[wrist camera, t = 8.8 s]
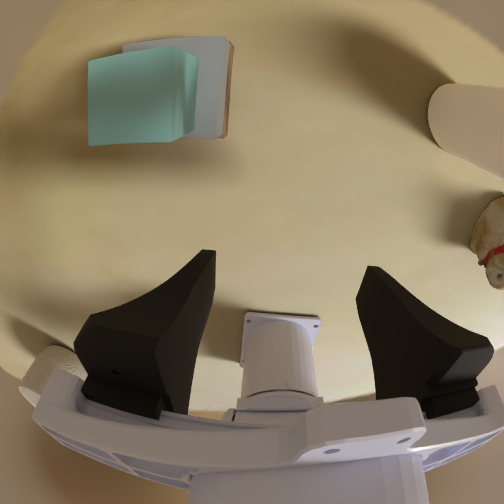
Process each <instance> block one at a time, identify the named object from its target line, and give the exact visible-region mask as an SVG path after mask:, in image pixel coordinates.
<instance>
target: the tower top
mask: <svg viewBox="0 0 504 504" xmlns="http://www.w3.org/2000/svg"><path fill="white" fill-rule="evenodd" d="M171 46H175V47H177V48H179V49H181V50H183V51H185V52H187V53H189V54H191V55H192V56H194V57H196V58H198V59H199V60H198V74H197V90H196V111H195V130H194V131H192V132H190V133H188V134H186V135H184V136H182V137H180V138H208V139H217V138H218V137H220V136H221V135H222V134H223V121H224V107H225V95H226V83H227V72H228V61H229V51H230V43H229V42H228V40H227V39H226V37H225V36H198V37H180V38H169V39H159V40H151V41H144V42H137V43H131V44H126V45H123V48H122V53H127V52H133V51H139V50H146V49H153V48H161V47H171Z"/></svg>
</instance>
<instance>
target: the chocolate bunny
mask: <svg viewBox="0 0 504 504" xmlns="http://www.w3.org/2000/svg"><path fill="white" fill-rule="evenodd" d="M469 245H470V250H471V251H472V252H473V253H474V254H477V257H478V259H479V261H478V264H479V265H480V266H481V265H484V267H485V268H486V276H487V279H488V280H489V283H490V285H491V286H492V287H494V288H496V289H499V290H504V195H503V196H502V197H501V198H496V199H494V200H493V201H491V202H490V203H489V205H488V206H487V207H486V208H485V210H484V211H483V212H482V213H481V215H480V217H479V218H478V220H477V222H476V223H475V226H474V229H473V233H472V235H471V238H470V244H469Z"/></svg>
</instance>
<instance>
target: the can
mask: <svg viewBox="0 0 504 504" xmlns="http://www.w3.org/2000/svg"><path fill="white" fill-rule="evenodd" d="M428 122H429V127H430V130H431V132H432V135H433V137H434V139H435V141H436V142H437V144H438V145H439V146H440V147H441V148H442V149H443V150H444V151H446V152H448V153H449V154H452V155H454V156H456V157H458V158H460V159H462V160H464V161H467V162H469V163H471V164H473V165H475V166H477V167H479V168H481V169H483V170H485V171H487V172H488V173H490V174H492V175H494V176H496V177H498V178H500V179H501V180H503V181H504V88H500V87H492V86H483V85H472V84H445V85H442V86H440V87H439V88H438V89H436V91H435V92H434V93H433V95H432V97H431V99H430V102H429V107H428Z"/></svg>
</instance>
